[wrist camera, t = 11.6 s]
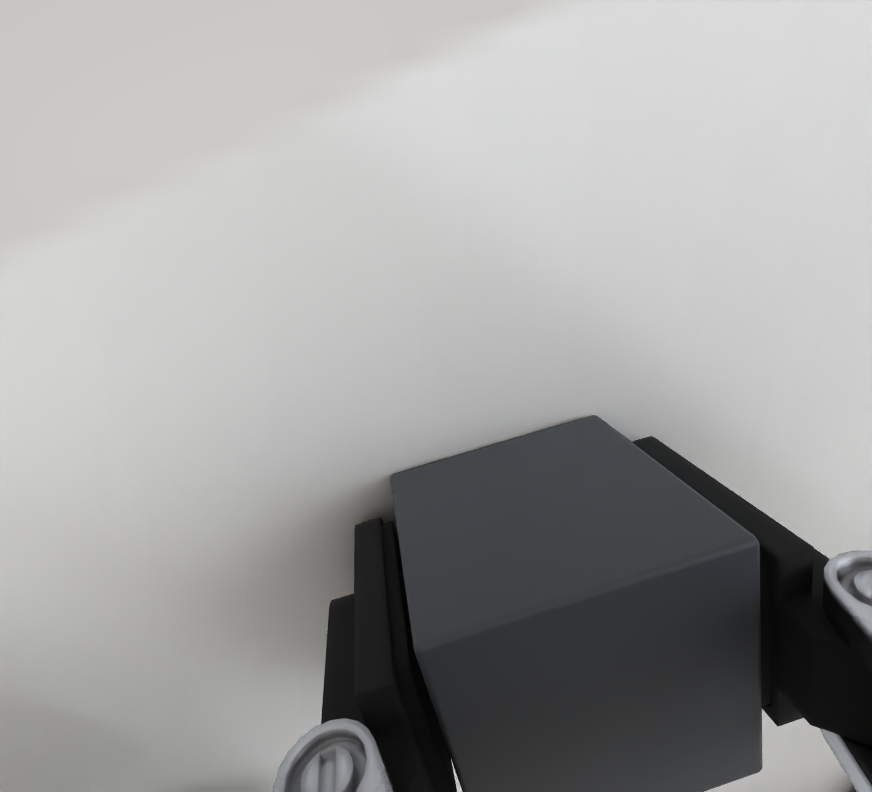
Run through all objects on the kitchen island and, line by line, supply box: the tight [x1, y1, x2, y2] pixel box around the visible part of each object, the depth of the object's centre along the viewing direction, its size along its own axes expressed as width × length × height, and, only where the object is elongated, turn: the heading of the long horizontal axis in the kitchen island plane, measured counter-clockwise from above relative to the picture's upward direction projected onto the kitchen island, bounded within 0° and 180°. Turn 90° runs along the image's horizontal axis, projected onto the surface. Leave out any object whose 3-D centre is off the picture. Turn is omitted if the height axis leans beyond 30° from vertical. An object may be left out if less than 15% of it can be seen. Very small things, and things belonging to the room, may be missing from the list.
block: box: [390, 416, 762, 792], centre depth 9 cm, size 4×4×4 cm
